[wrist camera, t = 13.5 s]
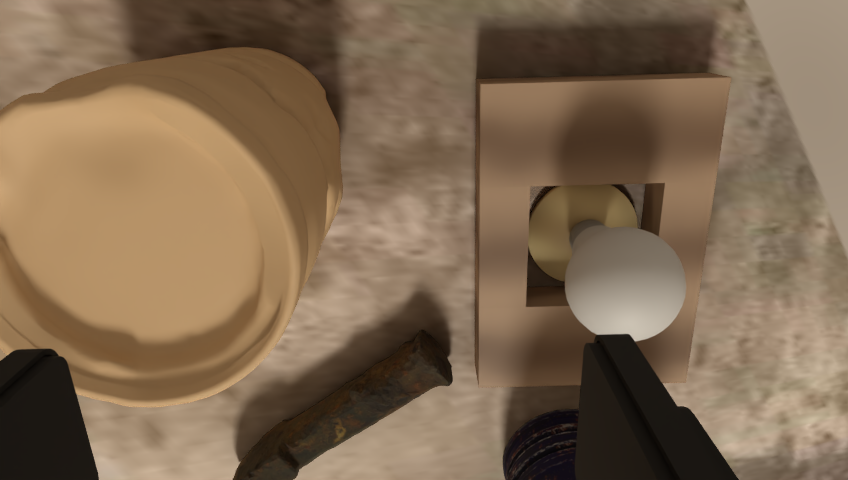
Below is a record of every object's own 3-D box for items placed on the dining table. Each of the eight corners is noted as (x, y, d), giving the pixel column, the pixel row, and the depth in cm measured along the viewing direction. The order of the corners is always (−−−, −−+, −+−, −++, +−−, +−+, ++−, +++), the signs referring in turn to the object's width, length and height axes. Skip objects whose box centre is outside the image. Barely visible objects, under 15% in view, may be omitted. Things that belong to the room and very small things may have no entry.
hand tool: (424, 318, 42) (424, 352, 38) (454, 359, 43) (457, 397, 39) (218, 437, 46) (196, 481, 42) (251, 472, 47) (233, 518, 43)
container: (112, 104, 37) (-150, 178, 20) (289, 7, 35) (164, -1, 18) (224, 272, 41) (84, 453, 24) (388, 194, 39) (361, 330, 22)
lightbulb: (589, 292, 41) (645, 385, 30) (519, 243, 39) (554, 323, 29) (651, 223, 39) (734, 297, 29) (581, 169, 38) (640, 227, 27)
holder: (476, 79, 36) (480, 84, 33) (707, 72, 36) (731, 77, 33) (475, 363, 43) (478, 387, 40) (668, 358, 43) (685, 382, 40)
